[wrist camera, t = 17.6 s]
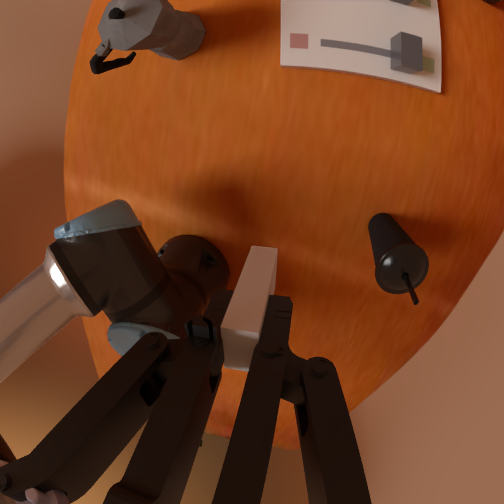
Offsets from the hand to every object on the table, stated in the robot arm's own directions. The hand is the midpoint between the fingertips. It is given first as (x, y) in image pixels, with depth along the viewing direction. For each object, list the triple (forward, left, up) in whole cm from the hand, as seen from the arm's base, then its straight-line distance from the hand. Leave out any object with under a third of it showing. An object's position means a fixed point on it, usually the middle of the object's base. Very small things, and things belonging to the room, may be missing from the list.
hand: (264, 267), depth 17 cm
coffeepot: (-19, +21, -30) cm, 41 cm away
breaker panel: (+10, +25, -29) cm, 40 cm away
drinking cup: (+16, -9, -30) cm, 35 cm away
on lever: (+15, +19, -27) cm, 36 cm away
